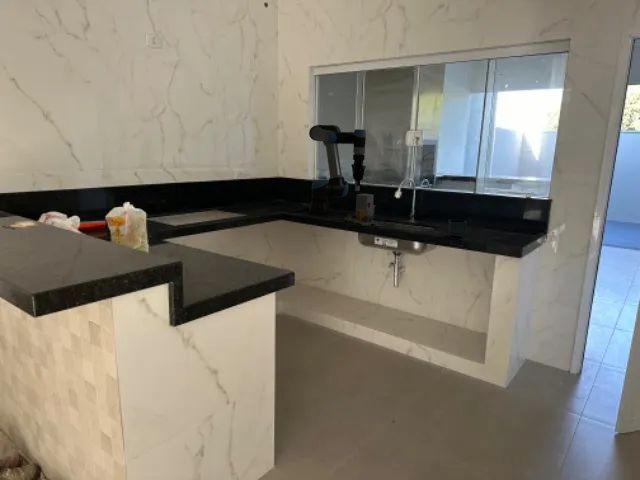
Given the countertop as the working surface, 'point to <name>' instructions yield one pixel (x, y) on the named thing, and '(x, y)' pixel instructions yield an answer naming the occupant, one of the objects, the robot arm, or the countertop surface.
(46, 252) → the countertop surface
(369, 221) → the cord board
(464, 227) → the flower pot
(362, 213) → the sleeve
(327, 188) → the robot arm
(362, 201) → the supplement box
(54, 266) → the countertop surface
